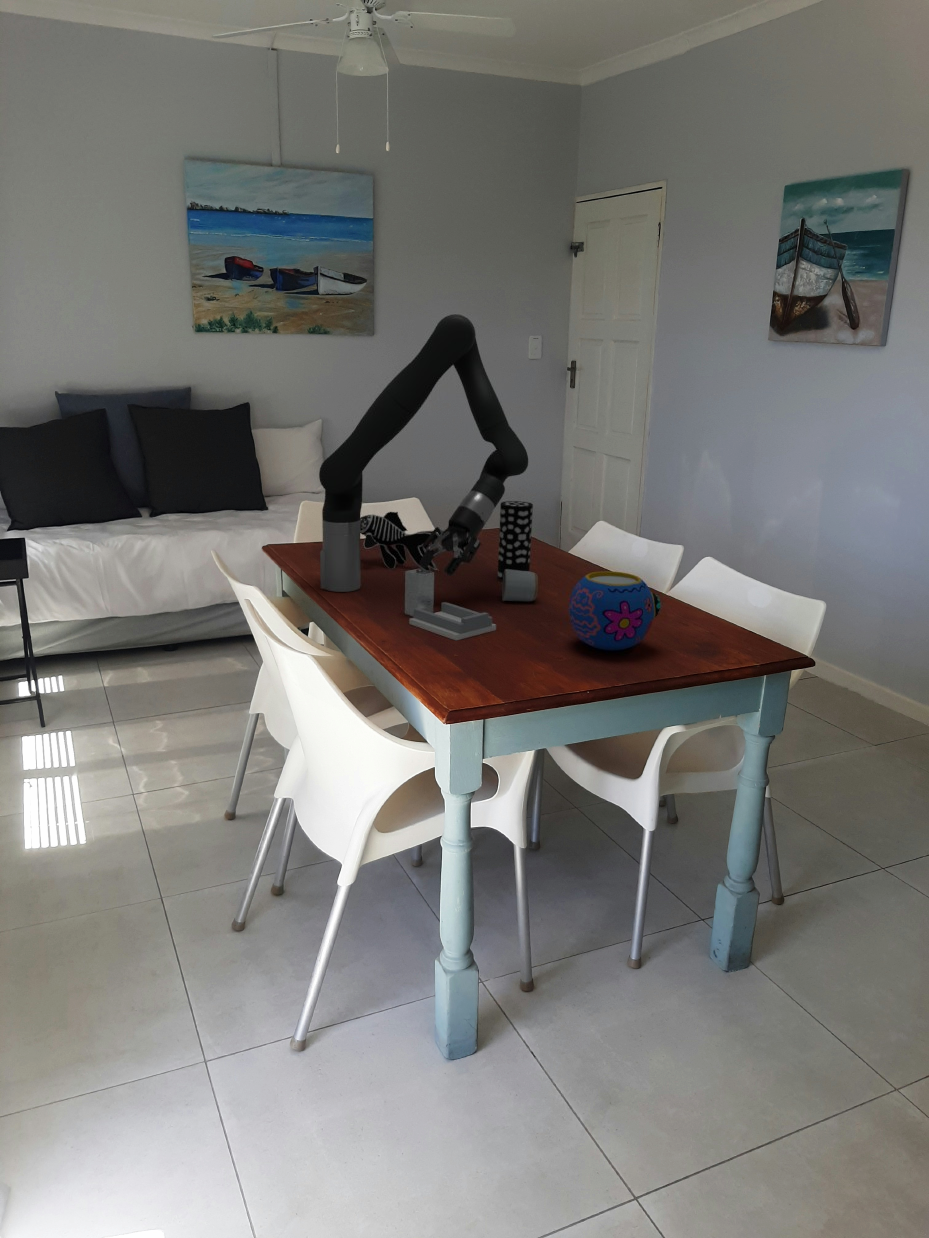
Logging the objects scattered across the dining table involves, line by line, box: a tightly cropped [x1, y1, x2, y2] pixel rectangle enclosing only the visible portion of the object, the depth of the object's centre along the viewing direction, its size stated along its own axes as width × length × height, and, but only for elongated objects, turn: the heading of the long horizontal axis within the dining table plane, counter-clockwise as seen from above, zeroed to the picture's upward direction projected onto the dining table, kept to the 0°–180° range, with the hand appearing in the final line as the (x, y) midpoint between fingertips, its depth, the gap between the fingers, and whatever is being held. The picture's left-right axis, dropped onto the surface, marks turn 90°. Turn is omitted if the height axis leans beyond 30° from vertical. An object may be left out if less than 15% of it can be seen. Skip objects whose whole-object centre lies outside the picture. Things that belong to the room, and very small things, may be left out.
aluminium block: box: [404, 567, 435, 618], centre depth 220 cm, size 5×5×10 cm
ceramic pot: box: [568, 570, 662, 652], centre depth 200 cm, size 18×18×15 cm
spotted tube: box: [496, 500, 534, 582], centre depth 252 cm, size 8×8×20 cm
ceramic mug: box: [501, 569, 539, 603], centre depth 236 cm, size 11×8×8 cm
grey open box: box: [408, 601, 497, 641], centre depth 212 cm, size 15×12×4 cm
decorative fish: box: [360, 511, 439, 572], centre depth 262 cm, size 16×26×15 cm, turn 65°
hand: (434, 570), depth 222 cm, fingers open, 8 cm apart
